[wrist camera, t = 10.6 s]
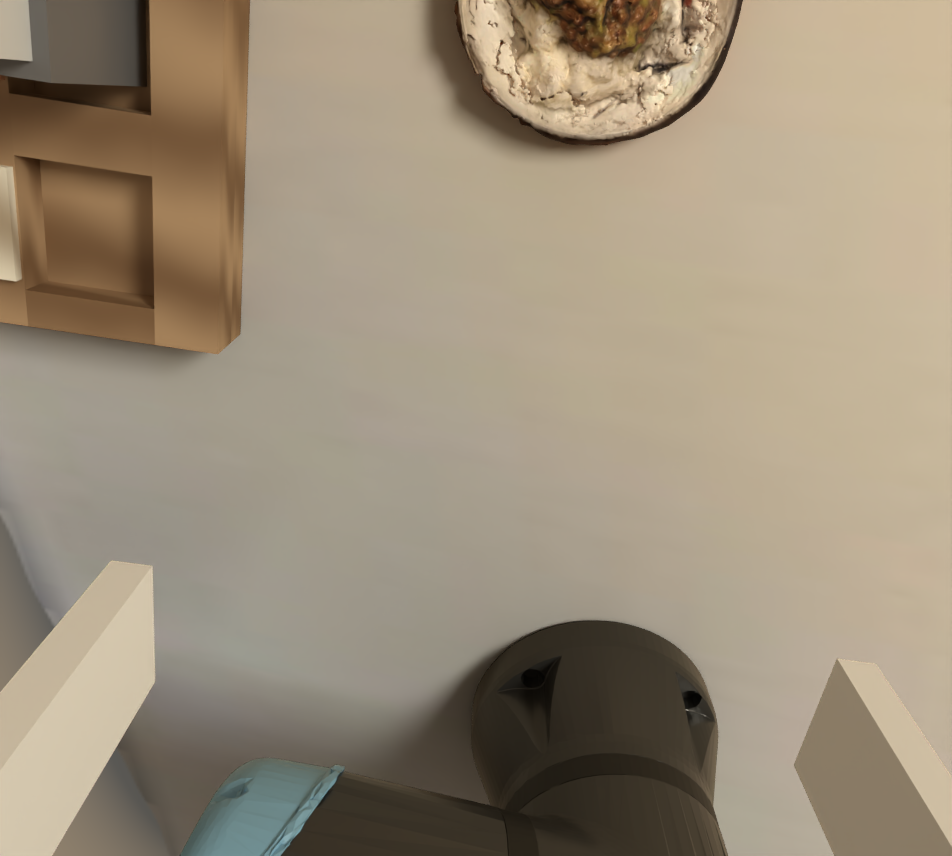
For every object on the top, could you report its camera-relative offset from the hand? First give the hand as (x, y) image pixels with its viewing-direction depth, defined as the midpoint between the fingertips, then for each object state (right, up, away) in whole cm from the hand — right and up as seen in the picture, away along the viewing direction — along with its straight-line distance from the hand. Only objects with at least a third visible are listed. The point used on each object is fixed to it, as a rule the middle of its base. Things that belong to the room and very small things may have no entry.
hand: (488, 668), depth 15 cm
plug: (-16, +22, +19) cm, 33 cm away
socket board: (-17, +19, +22) cm, 33 cm away
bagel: (+5, +24, +19) cm, 31 cm away
